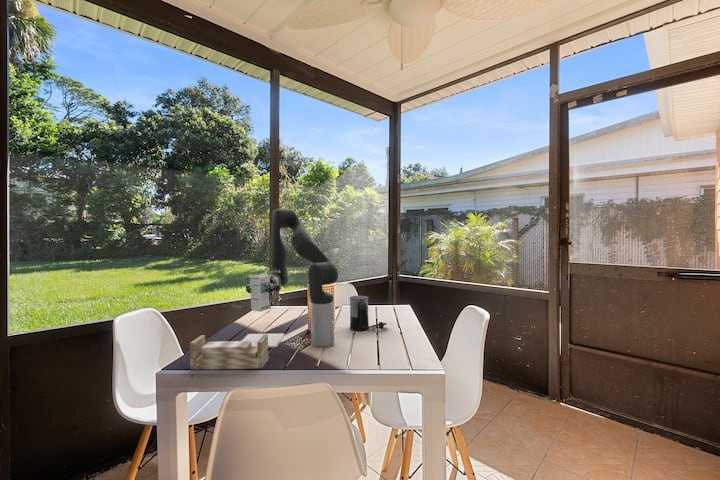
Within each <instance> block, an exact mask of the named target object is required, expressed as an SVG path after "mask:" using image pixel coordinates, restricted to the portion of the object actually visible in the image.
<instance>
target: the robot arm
mask: <svg viewBox="0 0 720 480" xmlns="http://www.w3.org/2000/svg"><path fill="white" fill-rule="evenodd" d="M271 215H272V216H271V230H272V256H271V257H272V258H271V266H272V268H274V269H275V270H270V271H268V272H267V275H270V287H269V289H268V290H269V293H270V294H272V293H274V292H280V291H281V290H282V287H285V286H286V285H287V284H288V281H289V276H288V271H287V270H288V269H287V258H288V250H287V249H288V248H287V247H286V245H285V243H284V241H283V239H282V236H281V235H282V234H281V229H290V230H292V235H291V238H290V243H291V246H292V247H293V249H294V251H295V252H296V254H298V256H300V258H301V257H302V258H303V259H305V260H306V261H308V262H311V264H310V265H309V267H308V270H307V271H308V279H307V280H308V292H309V298H310V344H311V346H313V347H315V348H316V347H317V348H325V347H330V346H332V347H333V346H334V344H335V318H334V295H333V294H332V293H331V292H326V291H324V290H323V286H328V285H331V284H334V283H336V282H337V280H338V278H339V272H338V269H337V266H336V265H335V264H334V262H333V261H332V260H331V259H330V258H329V257H328V256H327V255H326V254H325V253H324V251H322V249H321V248H320V246H318V244H317V243H316V242H315V240H314V238H313V237H312V236H311V234H310V233H308V230H307V229H306V228H305V226H304V225H303V224H302V221H301V220H300V218H299V216H298V214H297V213H296V211H294V210H293V209H289V208H276V209H274V210H273V212H272V214H271ZM276 270H278V271H276ZM245 292H246V293H248V294H251V285H250V283H249V284H247V285H246V286H245Z"/></svg>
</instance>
